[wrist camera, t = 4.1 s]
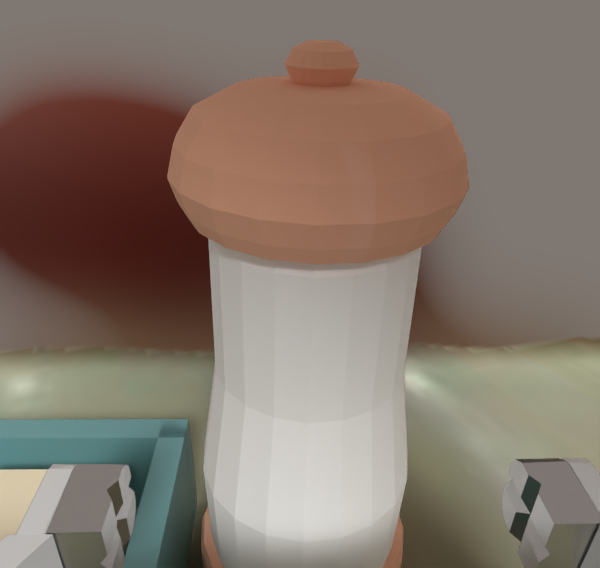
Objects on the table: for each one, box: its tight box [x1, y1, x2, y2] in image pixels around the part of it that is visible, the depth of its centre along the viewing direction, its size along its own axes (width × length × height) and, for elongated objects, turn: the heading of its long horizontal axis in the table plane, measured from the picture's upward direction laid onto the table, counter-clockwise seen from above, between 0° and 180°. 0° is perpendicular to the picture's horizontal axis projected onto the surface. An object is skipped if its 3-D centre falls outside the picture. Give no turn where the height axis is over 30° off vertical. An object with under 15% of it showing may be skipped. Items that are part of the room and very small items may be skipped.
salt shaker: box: [167, 40, 469, 568], centre depth 16 cm, size 7×7×19 cm
